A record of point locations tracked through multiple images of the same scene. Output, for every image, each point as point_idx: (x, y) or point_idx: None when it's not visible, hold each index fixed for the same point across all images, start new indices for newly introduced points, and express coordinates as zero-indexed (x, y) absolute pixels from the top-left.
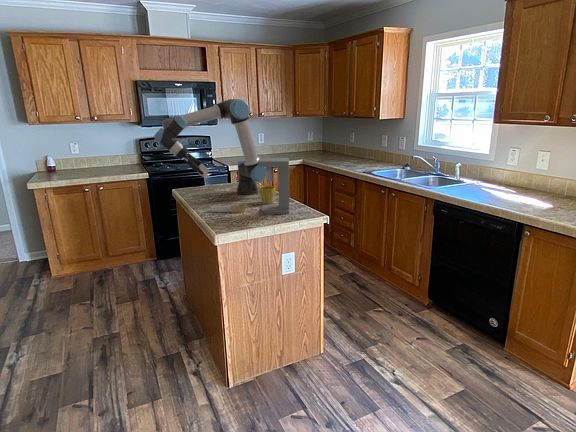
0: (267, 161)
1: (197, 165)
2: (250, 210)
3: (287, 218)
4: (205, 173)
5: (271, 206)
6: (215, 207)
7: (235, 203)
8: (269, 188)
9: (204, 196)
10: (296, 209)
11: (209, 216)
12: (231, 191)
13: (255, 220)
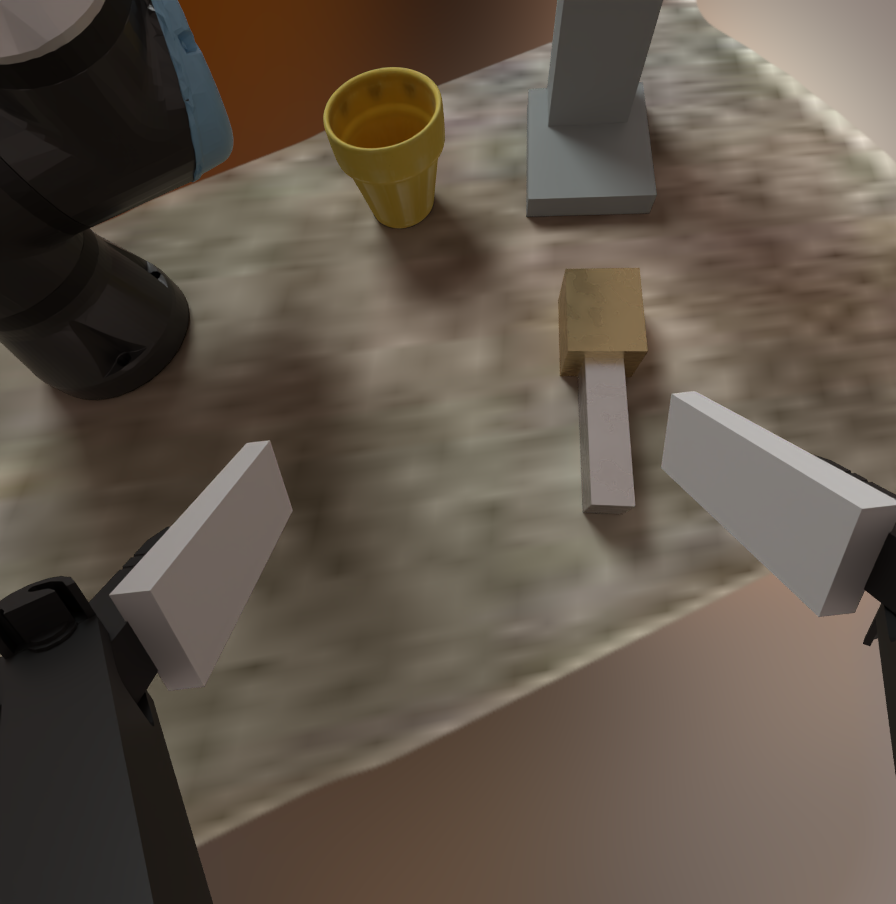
0: None
1: (161, 729)
2: None
3: (726, 104)
4: (745, 427)
5: (566, 157)
6: (631, 464)
7: (573, 325)
8: (339, 119)
9: None
10: None
11: None
12: (42, 442)
13: (788, 227)
